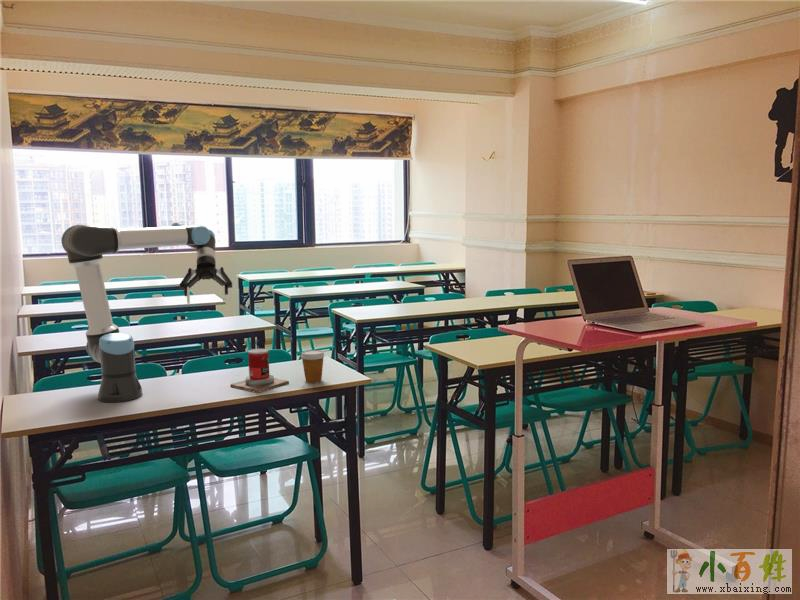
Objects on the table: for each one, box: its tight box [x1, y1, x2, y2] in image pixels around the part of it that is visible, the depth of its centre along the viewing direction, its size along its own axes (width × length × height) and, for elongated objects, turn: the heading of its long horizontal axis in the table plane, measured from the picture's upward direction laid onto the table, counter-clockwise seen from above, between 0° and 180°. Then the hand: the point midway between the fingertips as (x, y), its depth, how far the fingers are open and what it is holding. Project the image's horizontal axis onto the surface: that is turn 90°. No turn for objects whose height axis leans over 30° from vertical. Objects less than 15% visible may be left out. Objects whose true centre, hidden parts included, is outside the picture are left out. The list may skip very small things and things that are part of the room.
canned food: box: [247, 348, 270, 380], centre depth 248 cm, size 8×8×11 cm
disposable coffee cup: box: [300, 349, 325, 384], centre depth 253 cm, size 10×10×12 cm
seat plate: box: [230, 374, 290, 393], centre depth 249 cm, size 16×16×3 cm
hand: (206, 301), depth 248 cm, fingers open, 13 cm apart
